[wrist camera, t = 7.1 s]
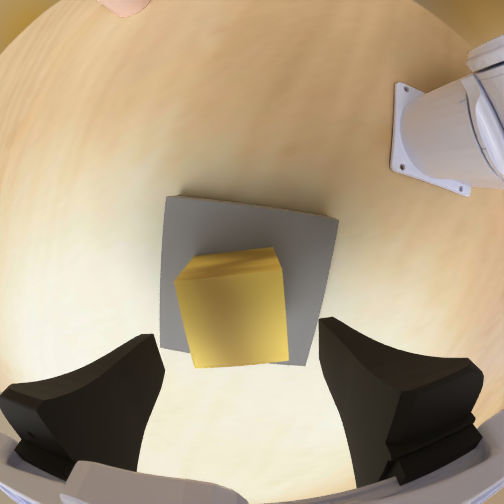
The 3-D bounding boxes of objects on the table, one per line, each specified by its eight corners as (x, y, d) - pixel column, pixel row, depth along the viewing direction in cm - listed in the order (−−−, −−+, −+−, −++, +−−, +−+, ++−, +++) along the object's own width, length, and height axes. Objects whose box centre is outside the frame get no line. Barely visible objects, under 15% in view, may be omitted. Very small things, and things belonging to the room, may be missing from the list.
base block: (324, 214, 20) (339, 220, 17) (298, 342, 23) (305, 365, 19) (180, 195, 20) (166, 196, 16) (171, 326, 22) (160, 347, 19)
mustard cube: (272, 247, 17) (282, 269, 12) (279, 318, 18) (289, 360, 13) (194, 255, 17) (173, 281, 12) (207, 325, 18) (194, 368, 13)
